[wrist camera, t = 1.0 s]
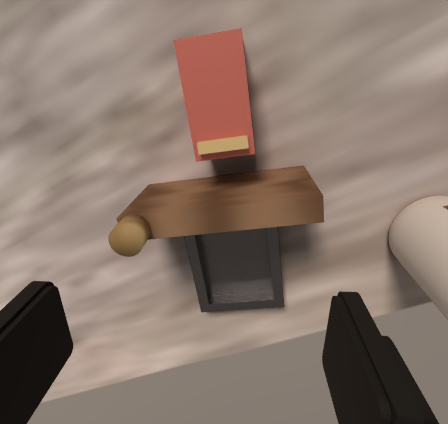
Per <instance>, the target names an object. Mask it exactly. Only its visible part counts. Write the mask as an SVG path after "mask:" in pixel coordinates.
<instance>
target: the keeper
mask: <svg viewBox="0 0 448 424" xmlns="http://www.w3.org/2000/svg"><path fill="white" fill-rule="evenodd" d="M184 237H185V241H186V246H187V250H188V255H189V259H190V264H191V268H192V273H193V277H194V281H195V286H196V290H197V295H198V299H199V304H200V308H201V312H213V311H228V310H243V309H258V308H274V307H284V297H283V286H282V275H281V264H280V252H279V241H278V230H277V227H270V228H260V229H249V230H239V231H229V232H219V233H209V234H199V235H189V236H184Z"/></svg>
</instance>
